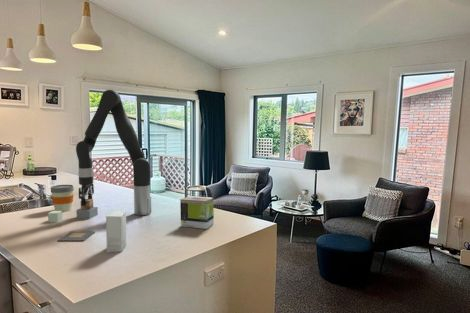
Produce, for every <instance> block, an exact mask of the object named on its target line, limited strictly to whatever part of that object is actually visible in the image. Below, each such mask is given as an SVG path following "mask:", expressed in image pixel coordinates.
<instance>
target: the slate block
mask: <svg viewBox="0 0 470 313" xmlns="http://www.w3.org/2000/svg"><path fill="white" fill-rule="evenodd" d="M97 216H99V210H98V206H93V208H92V209H90V210H81V207H80V208H78V209H76V219H87V220H91V219H92V218H94V217H97Z"/></svg>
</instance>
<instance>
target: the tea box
mask: <svg viewBox="0 0 470 313" xmlns="http://www.w3.org/2000/svg"><path fill="white" fill-rule="evenodd" d="M179 201H180V203H179V204H180V207H179V208H180V227H185V228H195V229H201V230H202V229H204V230H207V229H209V228H210V227H212V226H213V225H214V223H215V222H214V220H215V219H214V218H215V216H214V197H210V196H209V197H208V196H198V195H197V196H196V195H187V196H185V197H183V198H181V199H180V200H179Z"/></svg>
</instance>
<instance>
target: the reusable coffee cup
mask: <svg viewBox="0 0 470 313" xmlns="http://www.w3.org/2000/svg"><path fill="white" fill-rule="evenodd" d="M74 190H75V189H74V185H73V184H58V185H53V186H50V193H51V201H52V204H53V207H54V211H62V213H65V212H69V211H71V210H72V207H73V202H74Z"/></svg>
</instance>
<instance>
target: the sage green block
mask: <svg viewBox="0 0 470 313" xmlns="http://www.w3.org/2000/svg"><path fill="white" fill-rule="evenodd" d="M47 219H48V220H47V222H48V223H60V221H62V220H63V212H62V211H55V210H51V211H50V212H47Z"/></svg>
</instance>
